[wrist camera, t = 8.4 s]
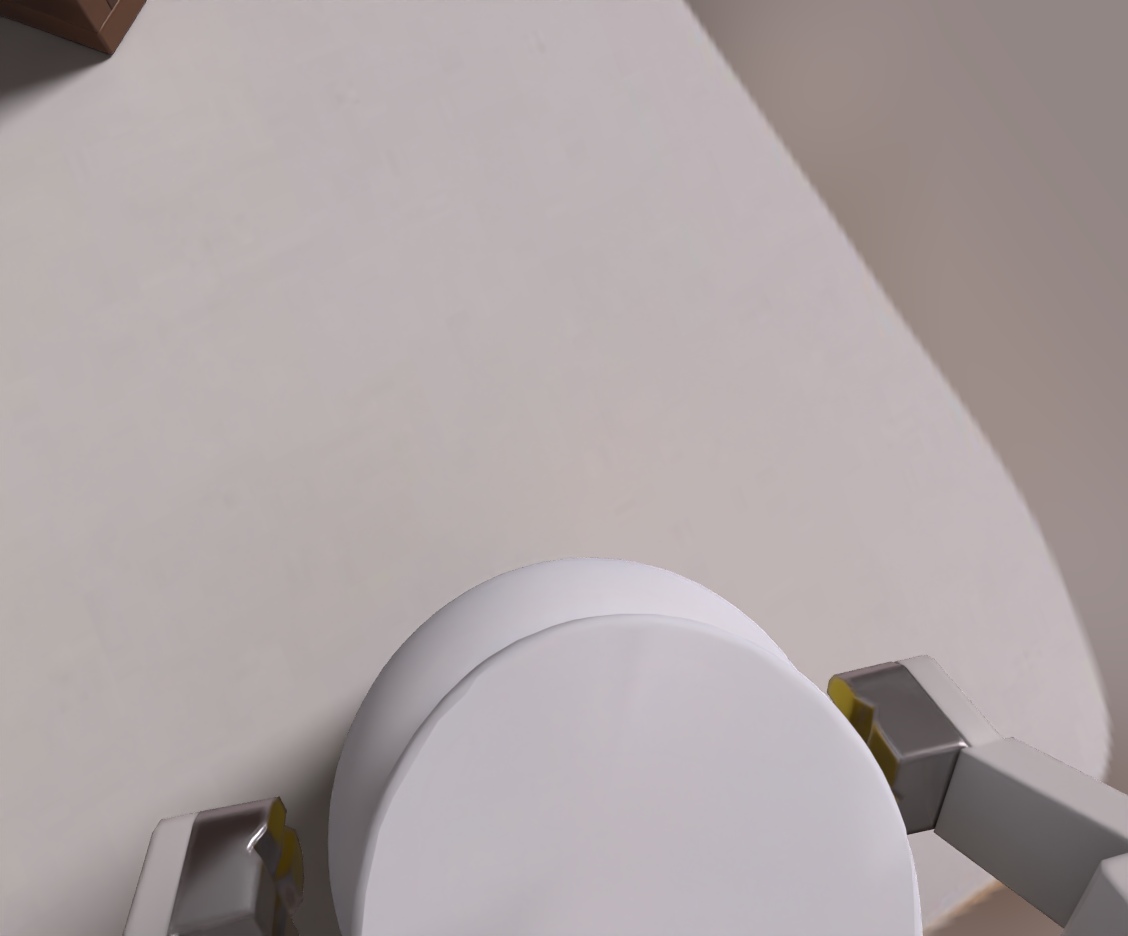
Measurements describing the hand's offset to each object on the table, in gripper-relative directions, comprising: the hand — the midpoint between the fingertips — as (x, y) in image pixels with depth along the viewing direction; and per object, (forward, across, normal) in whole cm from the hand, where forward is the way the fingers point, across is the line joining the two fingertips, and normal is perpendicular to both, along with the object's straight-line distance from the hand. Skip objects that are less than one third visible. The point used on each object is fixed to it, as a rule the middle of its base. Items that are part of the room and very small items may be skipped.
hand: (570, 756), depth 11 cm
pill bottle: (+4, 0, +5) cm, 7 cm away
